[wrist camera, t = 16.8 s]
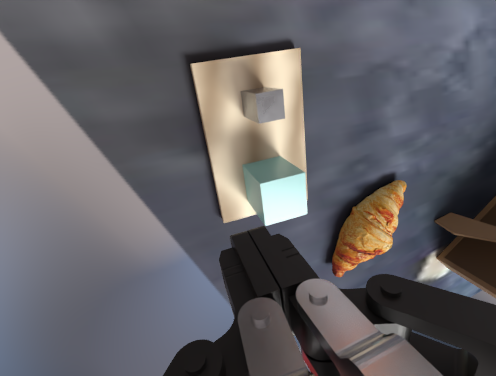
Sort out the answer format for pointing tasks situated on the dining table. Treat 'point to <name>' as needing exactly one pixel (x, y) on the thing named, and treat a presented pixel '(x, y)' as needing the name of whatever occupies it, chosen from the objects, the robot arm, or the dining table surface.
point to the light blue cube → (275, 189)
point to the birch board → (248, 120)
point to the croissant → (369, 228)
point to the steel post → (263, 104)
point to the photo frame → (472, 247)
